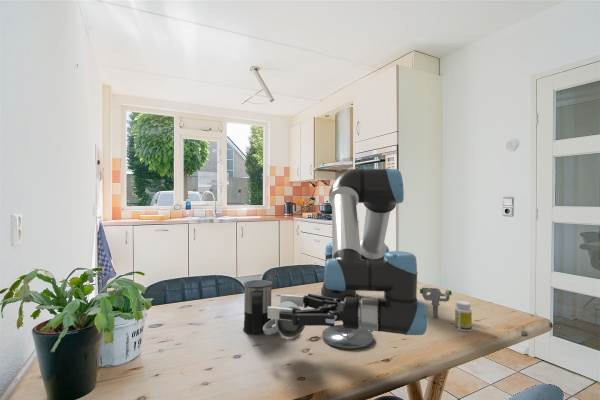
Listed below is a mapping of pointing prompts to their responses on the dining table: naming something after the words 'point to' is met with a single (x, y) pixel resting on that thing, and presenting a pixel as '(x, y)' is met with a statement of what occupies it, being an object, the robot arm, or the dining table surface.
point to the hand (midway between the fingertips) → (274, 305)
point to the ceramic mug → (284, 323)
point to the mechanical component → (435, 298)
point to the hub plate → (347, 338)
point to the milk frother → (256, 305)
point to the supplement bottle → (463, 316)
